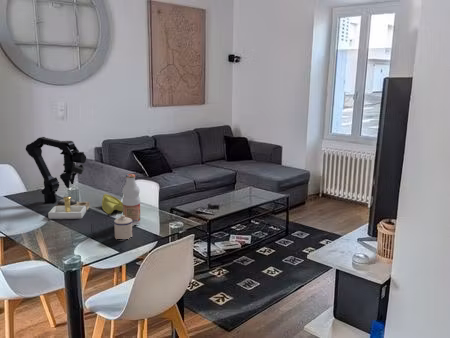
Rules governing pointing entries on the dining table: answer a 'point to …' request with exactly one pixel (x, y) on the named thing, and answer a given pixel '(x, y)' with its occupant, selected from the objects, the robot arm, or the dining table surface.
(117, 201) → the plastic component
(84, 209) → the tray
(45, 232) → the dining table surface
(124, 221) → the teacup with lid
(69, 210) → the lock pin
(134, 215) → the fruit juice
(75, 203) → the plate
